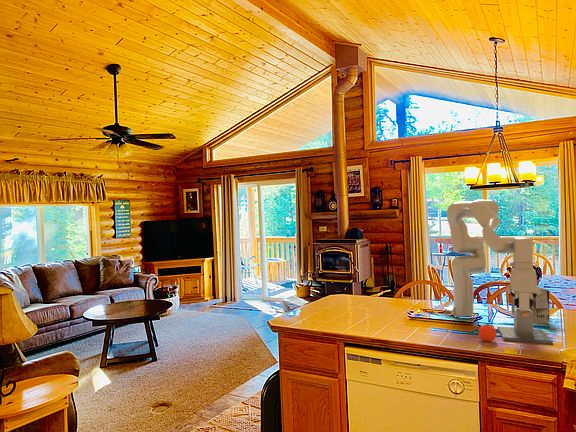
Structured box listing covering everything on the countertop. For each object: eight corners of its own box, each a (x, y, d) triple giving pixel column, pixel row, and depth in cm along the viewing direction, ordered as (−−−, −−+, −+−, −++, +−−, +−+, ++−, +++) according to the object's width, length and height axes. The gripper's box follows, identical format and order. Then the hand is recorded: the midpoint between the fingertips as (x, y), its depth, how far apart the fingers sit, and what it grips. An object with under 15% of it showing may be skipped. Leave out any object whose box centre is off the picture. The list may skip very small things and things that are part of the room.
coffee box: (550, 323, 207) (549, 290, 207) (535, 323, 209) (535, 290, 209) (542, 319, 216) (542, 287, 216) (529, 318, 218) (528, 287, 217)
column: (519, 333, 185) (518, 289, 185) (517, 330, 189) (516, 287, 189) (529, 334, 183) (529, 289, 183) (527, 331, 187) (527, 288, 187)
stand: (504, 340, 180) (503, 313, 180) (497, 329, 198) (497, 304, 197) (552, 344, 175) (552, 316, 175) (541, 332, 192) (541, 307, 192)
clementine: (477, 337, 185) (477, 321, 185) (494, 338, 183) (494, 322, 183) (479, 342, 178) (479, 325, 178) (498, 344, 176) (498, 326, 176)
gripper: (503, 266, 185) (503, 308, 185) (547, 267, 180) (547, 310, 180) (500, 264, 192) (500, 304, 192) (542, 265, 187) (542, 307, 187)
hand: (523, 307), depth 186 cm, fingers closed on column, 4 cm apart
